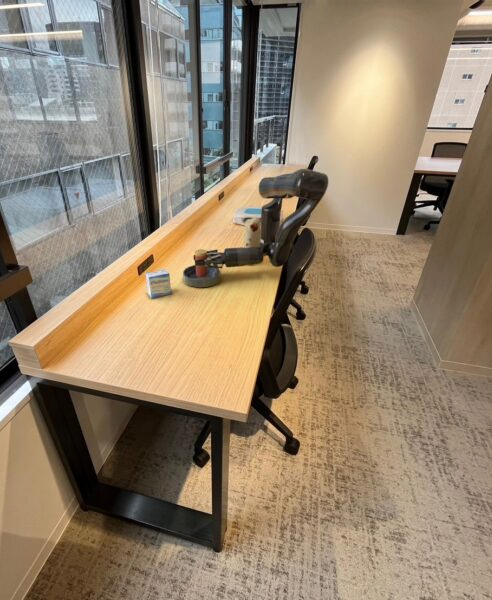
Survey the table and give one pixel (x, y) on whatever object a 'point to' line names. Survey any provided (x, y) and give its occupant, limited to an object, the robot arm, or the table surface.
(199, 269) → the pill bottle
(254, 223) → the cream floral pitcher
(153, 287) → the medicine box
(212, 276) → the bowl
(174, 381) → the table surface
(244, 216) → the document scanner
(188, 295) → the table surface
